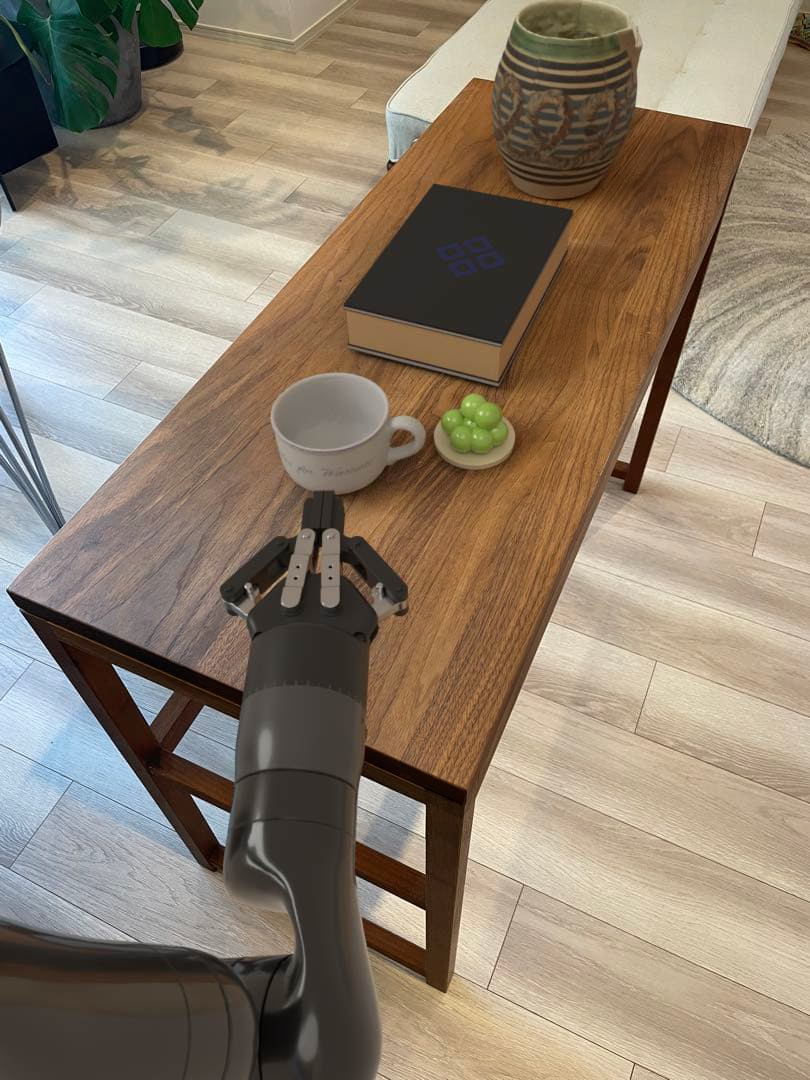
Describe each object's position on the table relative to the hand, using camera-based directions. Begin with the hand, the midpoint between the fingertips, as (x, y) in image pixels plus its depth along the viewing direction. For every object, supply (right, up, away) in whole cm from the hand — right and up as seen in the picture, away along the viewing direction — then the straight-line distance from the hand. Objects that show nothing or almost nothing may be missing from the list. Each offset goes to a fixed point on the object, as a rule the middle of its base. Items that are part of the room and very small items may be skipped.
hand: (325, 497), depth 60 cm
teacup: (+1, +3, +20) cm, 21 cm away
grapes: (+13, +7, +22) cm, 26 cm away
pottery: (+26, +45, +51) cm, 73 cm away
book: (+12, +24, +35) cm, 44 cm away
